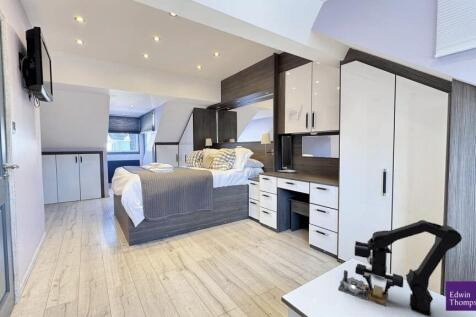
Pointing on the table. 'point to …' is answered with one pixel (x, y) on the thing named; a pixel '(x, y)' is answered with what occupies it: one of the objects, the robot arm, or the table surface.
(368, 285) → the sprocket base
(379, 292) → the tan rectangular block
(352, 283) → the sprocket
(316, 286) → the table surface
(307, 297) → the table surface
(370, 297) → the brown open tray
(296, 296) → the table surface
